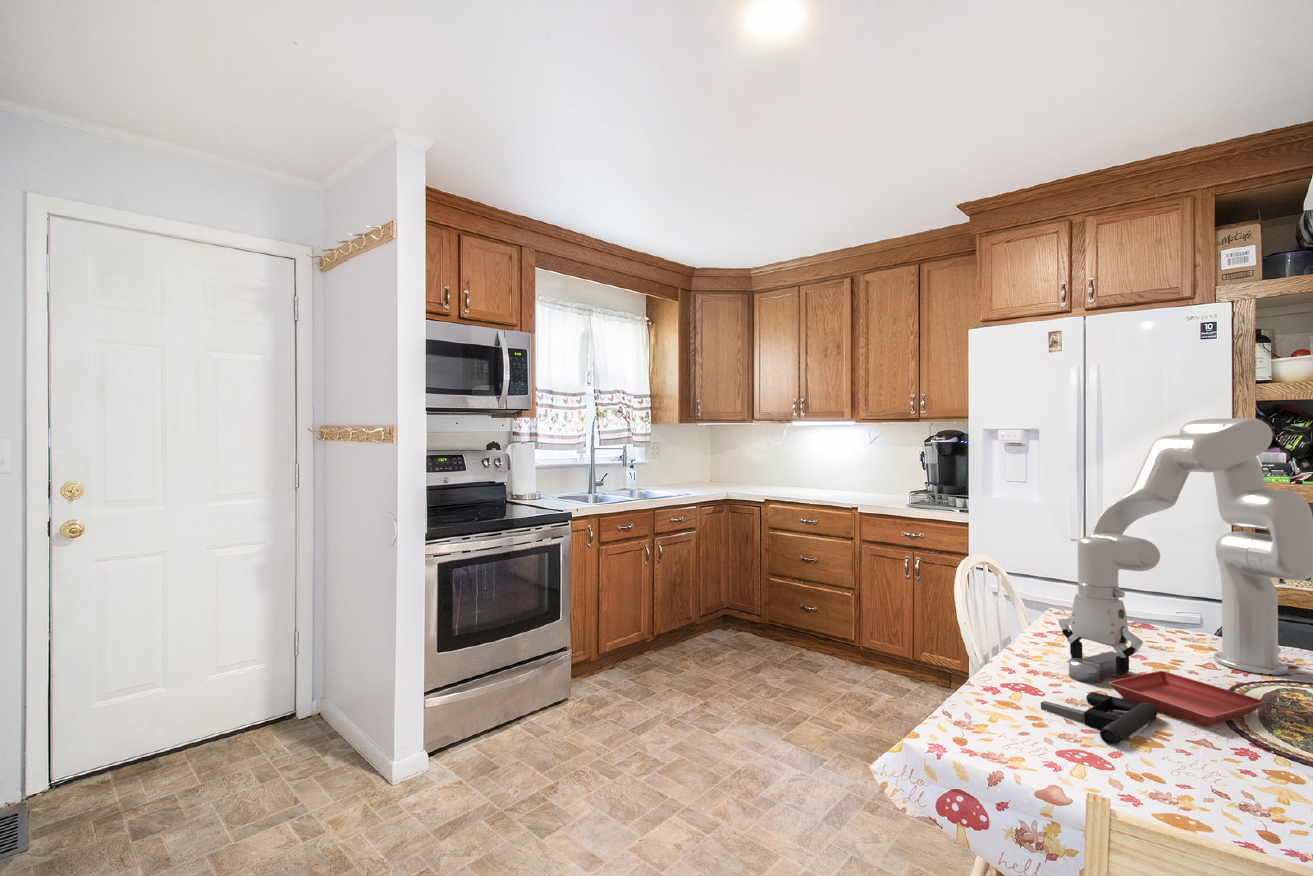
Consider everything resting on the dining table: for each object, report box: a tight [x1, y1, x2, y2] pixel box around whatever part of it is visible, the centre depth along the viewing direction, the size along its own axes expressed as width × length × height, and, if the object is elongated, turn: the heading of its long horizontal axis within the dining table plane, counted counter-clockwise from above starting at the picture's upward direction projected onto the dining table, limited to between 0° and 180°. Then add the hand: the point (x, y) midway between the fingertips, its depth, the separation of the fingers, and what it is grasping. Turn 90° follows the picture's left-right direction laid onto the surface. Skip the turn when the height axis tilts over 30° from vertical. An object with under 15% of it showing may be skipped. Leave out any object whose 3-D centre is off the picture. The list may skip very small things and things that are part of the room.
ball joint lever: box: [1068, 650, 1119, 684], centre depth 139 cm, size 16×6×4 cm, turn 115°
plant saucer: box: [1108, 670, 1266, 727], centre depth 122 cm, size 18×18×3 cm
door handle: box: [1040, 691, 1160, 746], centre depth 117 cm, size 3×20×16 cm
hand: (1098, 666), depth 139 cm, fingers open, 9 cm apart
